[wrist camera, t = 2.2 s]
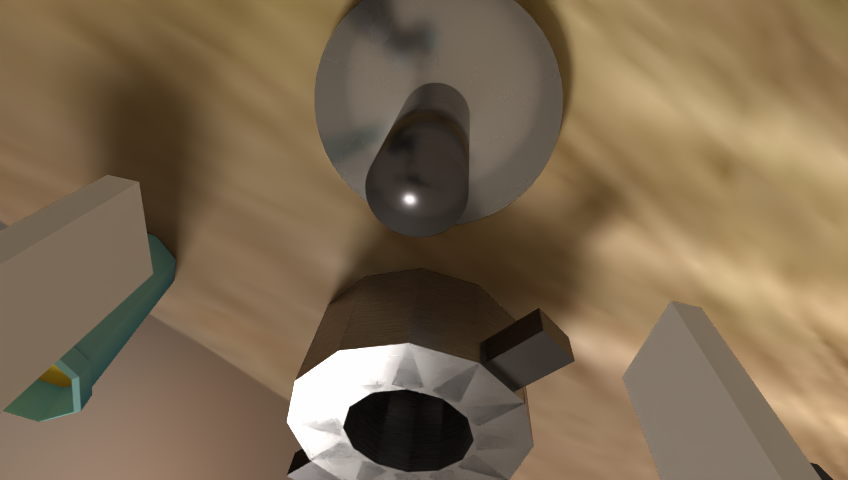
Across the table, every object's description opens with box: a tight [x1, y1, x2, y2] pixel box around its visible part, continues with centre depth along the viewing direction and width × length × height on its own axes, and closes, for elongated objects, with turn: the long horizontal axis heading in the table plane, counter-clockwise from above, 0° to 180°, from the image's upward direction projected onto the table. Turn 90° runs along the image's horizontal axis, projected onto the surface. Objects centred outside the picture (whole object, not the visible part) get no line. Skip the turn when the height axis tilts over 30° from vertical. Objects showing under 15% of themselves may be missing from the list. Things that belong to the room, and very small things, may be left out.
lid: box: [315, 0, 563, 237], centre depth 20 cm, size 13×13×10 cm
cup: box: [3, 233, 176, 422], centre depth 24 cm, size 14×8×15 cm, turn 136°
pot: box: [287, 268, 575, 480], centre depth 30 cm, size 23×15×7 cm, turn 134°
